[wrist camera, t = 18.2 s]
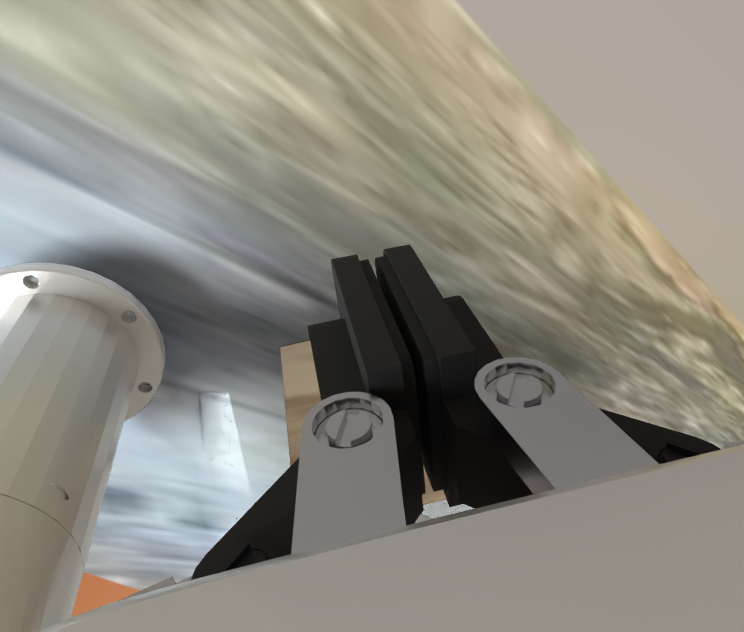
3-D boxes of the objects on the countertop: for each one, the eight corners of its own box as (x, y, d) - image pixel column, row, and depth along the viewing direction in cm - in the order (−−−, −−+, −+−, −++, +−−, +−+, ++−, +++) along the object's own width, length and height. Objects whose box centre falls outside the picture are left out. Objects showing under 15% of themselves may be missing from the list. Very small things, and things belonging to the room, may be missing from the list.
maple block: (436, 353, 46) (501, 484, 34) (291, 387, 45) (307, 534, 33) (432, 312, 43) (500, 438, 32) (280, 347, 43) (292, 490, 31)
